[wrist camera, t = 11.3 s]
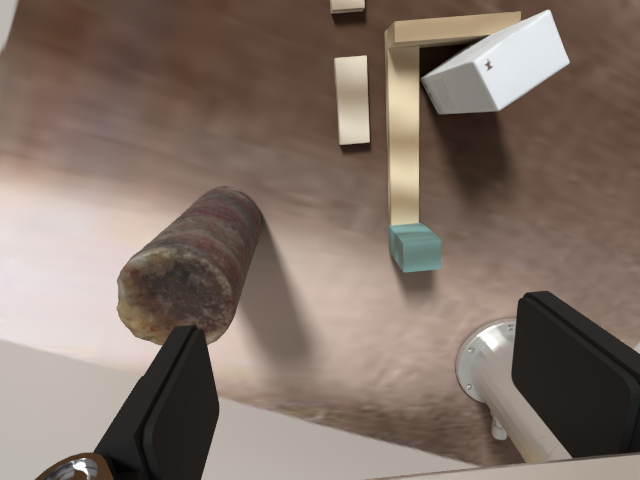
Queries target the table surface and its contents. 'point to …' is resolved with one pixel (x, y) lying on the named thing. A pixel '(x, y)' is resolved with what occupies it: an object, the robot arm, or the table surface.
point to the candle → (192, 269)
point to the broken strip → (351, 87)
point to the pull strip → (403, 125)
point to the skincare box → (497, 68)
